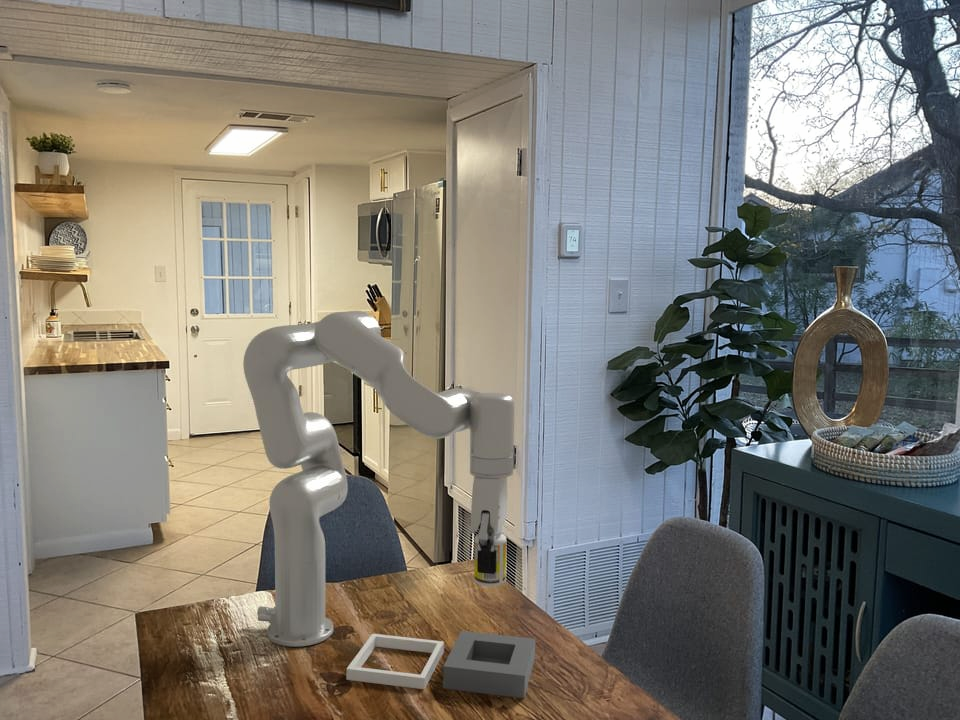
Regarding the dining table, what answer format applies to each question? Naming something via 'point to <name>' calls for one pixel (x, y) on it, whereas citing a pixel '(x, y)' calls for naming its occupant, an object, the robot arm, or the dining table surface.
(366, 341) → the robot arm
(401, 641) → the tray rim
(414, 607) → the dining table surface
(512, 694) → the gray square socket block
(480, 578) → the supplement bottle
